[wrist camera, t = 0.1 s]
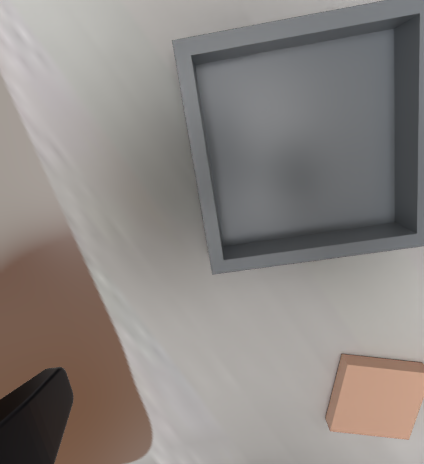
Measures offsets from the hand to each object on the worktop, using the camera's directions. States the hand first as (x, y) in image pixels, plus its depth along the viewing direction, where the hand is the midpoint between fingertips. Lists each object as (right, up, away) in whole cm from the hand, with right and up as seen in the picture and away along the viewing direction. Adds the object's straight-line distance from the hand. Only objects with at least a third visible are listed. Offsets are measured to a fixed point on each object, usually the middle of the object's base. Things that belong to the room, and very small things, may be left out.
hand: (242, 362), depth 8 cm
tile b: (+12, -9, +18) cm, 23 cm away
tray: (+5, +8, +13) cm, 16 cm away
